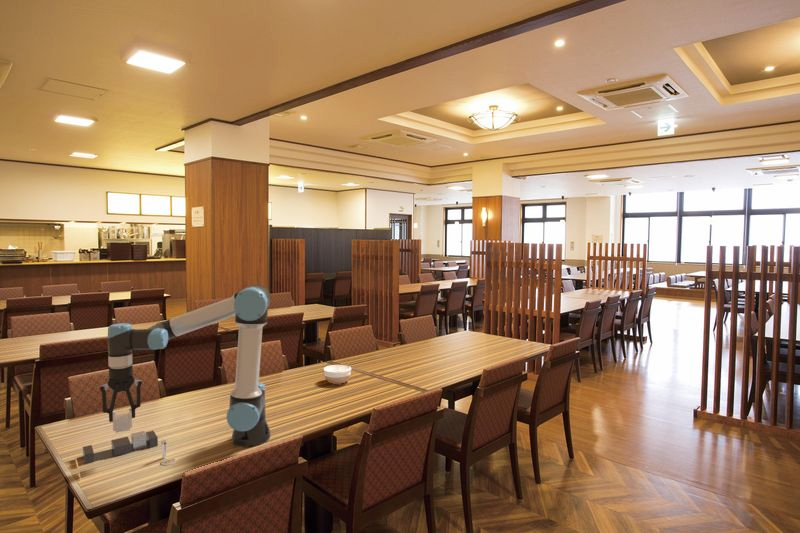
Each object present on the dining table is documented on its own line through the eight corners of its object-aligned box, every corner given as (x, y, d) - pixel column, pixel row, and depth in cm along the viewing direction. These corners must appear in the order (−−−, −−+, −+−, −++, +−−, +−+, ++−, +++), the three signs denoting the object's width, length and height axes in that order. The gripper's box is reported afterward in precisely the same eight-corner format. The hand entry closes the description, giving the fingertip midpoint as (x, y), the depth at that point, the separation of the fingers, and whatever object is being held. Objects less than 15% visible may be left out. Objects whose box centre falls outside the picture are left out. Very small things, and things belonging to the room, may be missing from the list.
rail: (157, 446, 184) (157, 437, 184) (85, 465, 169) (84, 454, 169) (153, 440, 190) (153, 430, 190) (83, 457, 175) (82, 446, 175)
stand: (164, 466, 169) (154, 460, 174) (177, 461, 172) (168, 455, 177) (163, 446, 168) (154, 440, 173) (177, 441, 172) (167, 435, 177)
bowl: (356, 382, 267) (356, 369, 266) (331, 387, 258) (331, 373, 257) (343, 376, 280) (343, 363, 280) (319, 380, 271) (319, 367, 271)
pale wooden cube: (129, 430, 171) (129, 416, 170) (115, 432, 168) (115, 419, 168) (129, 425, 174) (129, 412, 174) (115, 428, 172) (115, 415, 172)
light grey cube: (146, 446, 183) (145, 434, 183) (133, 450, 180) (132, 437, 180) (144, 442, 187) (143, 430, 186) (131, 445, 184) (131, 433, 184)
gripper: (147, 360, 178) (148, 420, 179) (92, 367, 168) (94, 429, 170) (148, 365, 171) (150, 426, 173) (91, 372, 162) (93, 437, 163)
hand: (122, 428), depth 171 cm, fingers closed on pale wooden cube, 4 cm apart
